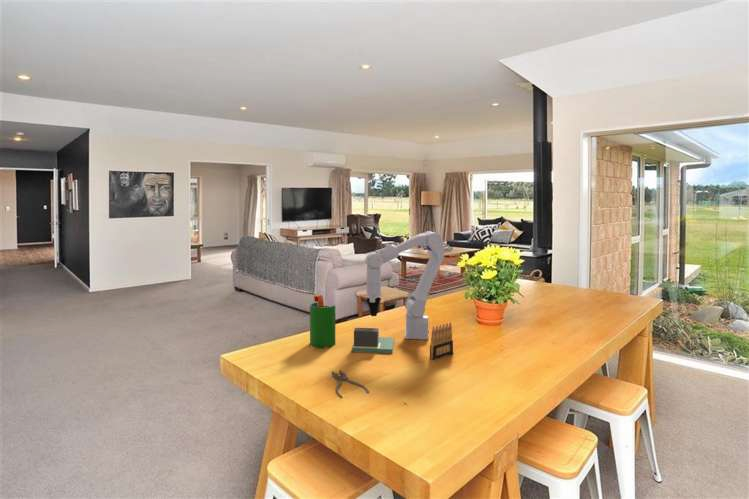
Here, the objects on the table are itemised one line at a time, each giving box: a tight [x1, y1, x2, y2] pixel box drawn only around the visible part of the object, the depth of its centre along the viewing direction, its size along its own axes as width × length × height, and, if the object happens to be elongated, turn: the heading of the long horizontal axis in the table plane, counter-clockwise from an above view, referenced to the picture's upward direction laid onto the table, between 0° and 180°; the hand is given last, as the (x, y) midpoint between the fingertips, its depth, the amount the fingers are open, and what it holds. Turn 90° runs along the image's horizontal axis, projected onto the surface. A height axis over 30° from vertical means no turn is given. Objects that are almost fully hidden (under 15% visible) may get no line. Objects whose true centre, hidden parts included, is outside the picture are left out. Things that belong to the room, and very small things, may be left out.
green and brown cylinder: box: [309, 294, 336, 349], centre depth 179 cm, size 10×9×20 cm
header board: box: [351, 336, 395, 354], centre depth 177 cm, size 15×14×4 cm
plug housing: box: [353, 327, 380, 347], centre depth 174 cm, size 9×4×6 cm, turn 85°
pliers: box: [331, 369, 370, 399], centre depth 143 cm, size 10×1×20 cm
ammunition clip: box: [429, 321, 454, 361], centre depth 166 cm, size 11×2×12 cm, turn 129°
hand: (373, 315), depth 186 cm, fingers closed
